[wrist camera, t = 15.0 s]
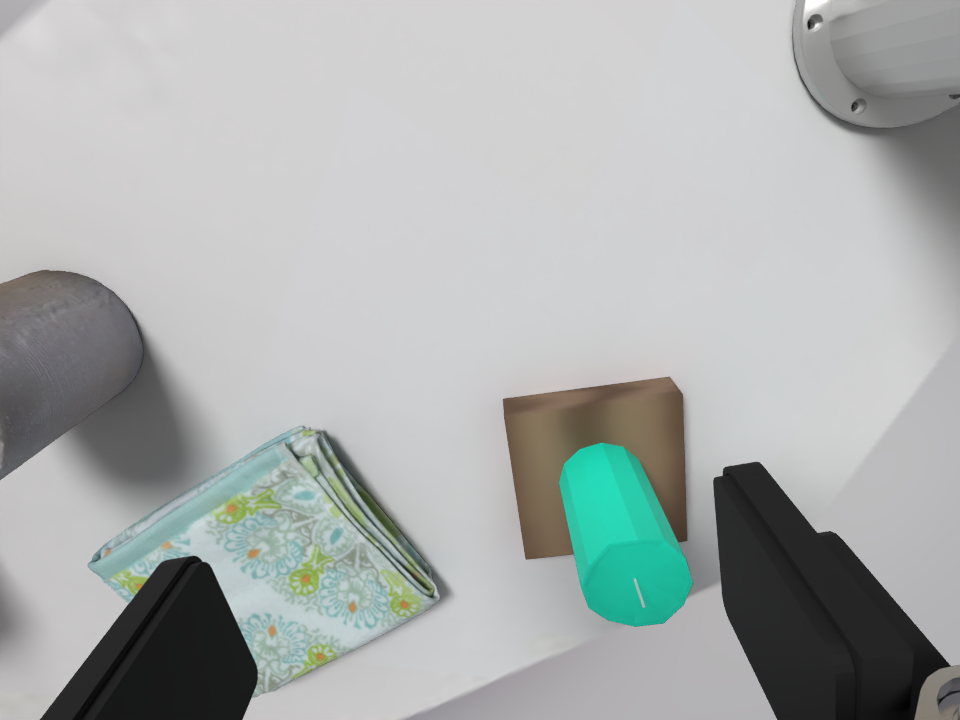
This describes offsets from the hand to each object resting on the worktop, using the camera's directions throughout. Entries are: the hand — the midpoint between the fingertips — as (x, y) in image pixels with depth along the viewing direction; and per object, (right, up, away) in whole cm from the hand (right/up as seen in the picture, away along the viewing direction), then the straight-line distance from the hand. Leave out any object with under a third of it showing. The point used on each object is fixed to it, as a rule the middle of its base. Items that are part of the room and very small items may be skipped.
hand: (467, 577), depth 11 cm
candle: (+9, -5, +31) cm, 33 cm away
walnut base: (+9, -4, +34) cm, 35 cm away
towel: (-16, -12, +38) cm, 43 cm away
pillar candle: (-28, +6, +31) cm, 42 cm away
